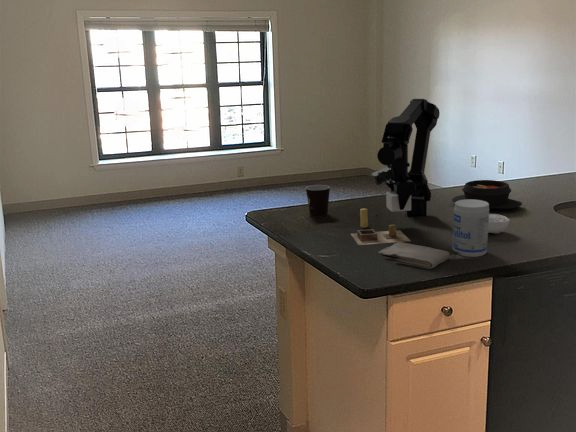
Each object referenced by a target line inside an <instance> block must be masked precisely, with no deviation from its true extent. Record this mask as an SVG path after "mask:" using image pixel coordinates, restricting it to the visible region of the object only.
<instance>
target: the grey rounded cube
mask: <svg viewBox="0 0 576 432" xmlns="http://www.w3.org/2000/svg"><path fill="white" fill-rule="evenodd" d="M386 208H387V209H388V210H389V211H390V212H393V213H394V212H405V211H409V210H411V195H410V197H409V199H408V201H407V203H406V205H405V207H404V209H403V210H400V207H399V202H398V195H397V193H396V192H391V191H386Z"/></svg>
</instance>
